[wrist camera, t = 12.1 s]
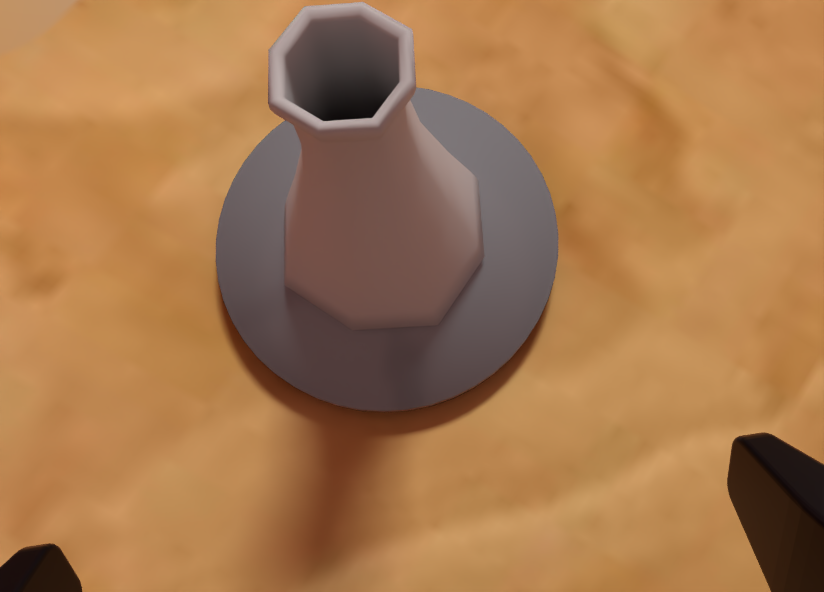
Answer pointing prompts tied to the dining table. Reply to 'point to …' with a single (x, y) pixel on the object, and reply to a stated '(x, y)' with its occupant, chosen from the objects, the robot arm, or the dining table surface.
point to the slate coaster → (406, 346)
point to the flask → (368, 175)
